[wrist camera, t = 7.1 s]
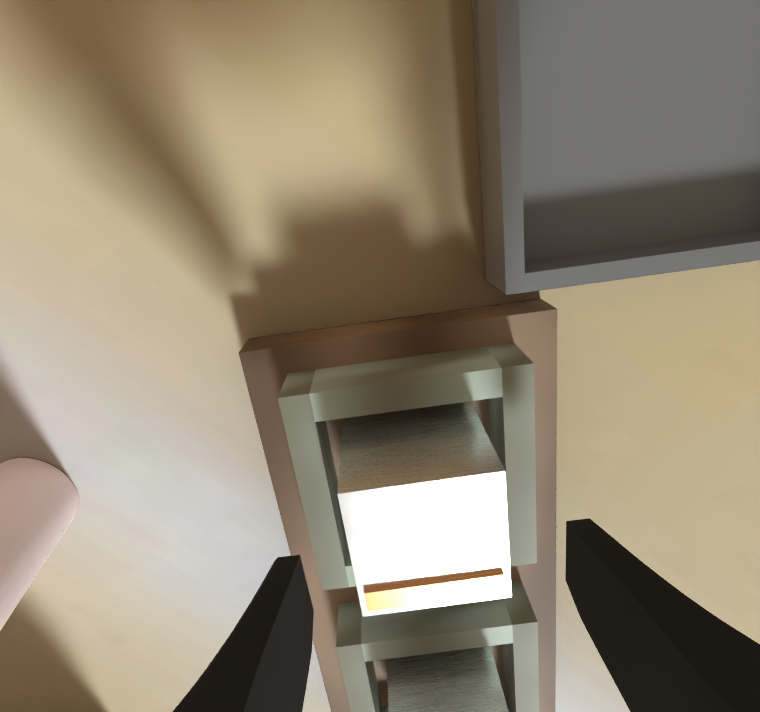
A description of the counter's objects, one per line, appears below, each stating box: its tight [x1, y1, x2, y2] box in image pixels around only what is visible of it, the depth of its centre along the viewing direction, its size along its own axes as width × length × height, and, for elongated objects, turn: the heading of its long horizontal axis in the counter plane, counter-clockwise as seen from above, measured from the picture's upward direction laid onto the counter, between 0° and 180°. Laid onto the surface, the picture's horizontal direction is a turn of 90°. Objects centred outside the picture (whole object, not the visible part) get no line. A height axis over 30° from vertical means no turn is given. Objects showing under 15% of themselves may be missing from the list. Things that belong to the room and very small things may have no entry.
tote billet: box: [337, 401, 511, 617], centre depth 15 cm, size 4×4×5 cm
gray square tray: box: [472, 0, 760, 295], centre depth 13 cm, size 11×11×2 cm
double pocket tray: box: [239, 299, 557, 712], centre depth 19 cm, size 11×21×4 cm, turn 8°
